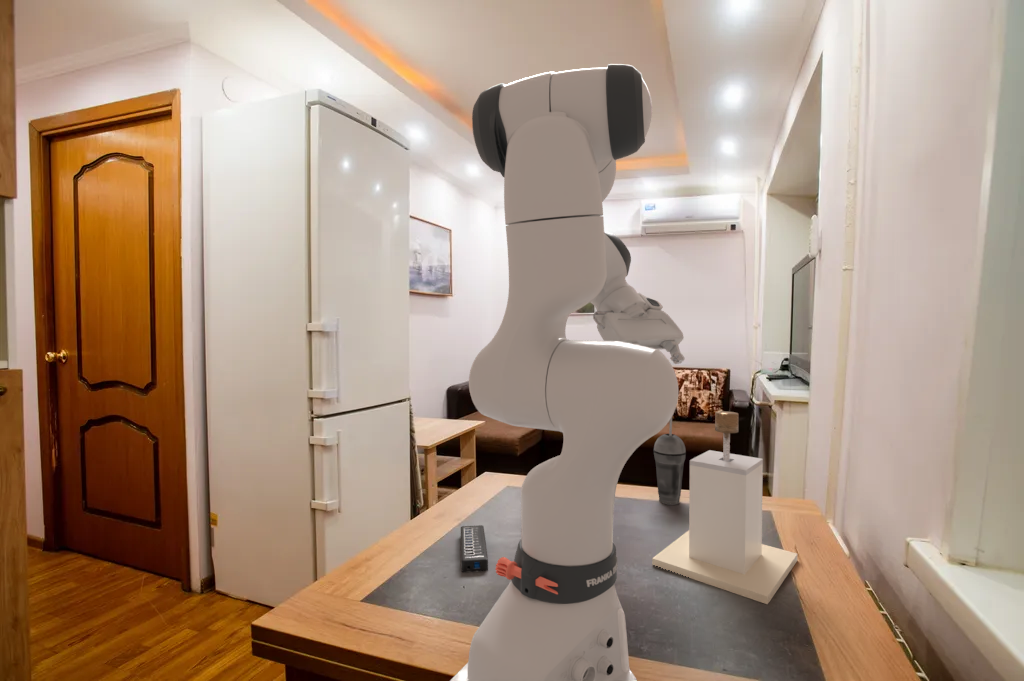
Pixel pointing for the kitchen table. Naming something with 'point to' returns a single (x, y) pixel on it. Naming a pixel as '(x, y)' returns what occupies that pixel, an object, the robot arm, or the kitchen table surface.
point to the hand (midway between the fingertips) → (666, 363)
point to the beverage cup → (669, 466)
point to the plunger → (726, 429)
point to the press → (727, 530)
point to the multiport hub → (473, 549)
